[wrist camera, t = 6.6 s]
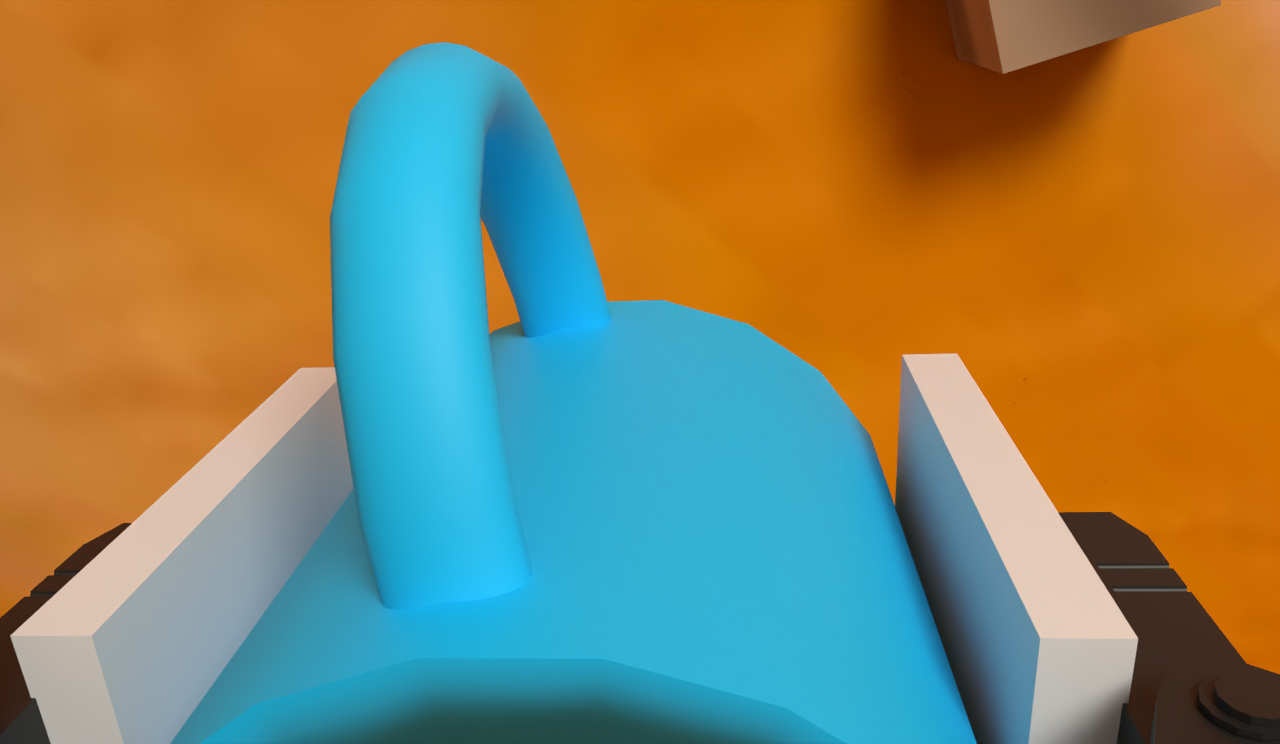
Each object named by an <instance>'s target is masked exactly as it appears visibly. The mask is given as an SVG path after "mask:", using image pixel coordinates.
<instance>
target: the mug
mask: <svg viewBox="0 0 1280 744" xmlns="http://www.w3.org/2000/svg"><path fill="white" fill-rule="evenodd" d="M480 217H481V219H482V221H483V223H484V224H485V226H486V229H487V231H488V234H489V236H490V239H491V242H492V244H493V247H494V249H495V252H496V254H497V257H498V259H499V262H500V265H501V267H502V270H503V272H504V275H505V277H506V280H507V282H508V285H509V288H510V290H511V293H512V295H513V298H514V301H515V304H516V308H517V311H518V314H519V318H520V322H517V323H514V324H512V325H509V326H506V327H503V328H500V329H497V330H494V331H493V332H492V333H491V334H489V325H488V312H487V299H486V285H485V272H484V259H483V246H482V233H481V219H480ZM330 240H331V282H332V324H333V360H334V366H335V372H336V379H337V385H338V392H339V398H340V404H341V411H342V417H343V423H344V430H345V436H346V443H347V449H348V455H349V462H350V468H351V475H352V481H353V487H354V488H353V490H352V491H351V493H350V494H349V495H348V497H347V498H346V500H345V501H344V502H343V504H342V505H341V507H340V508H339V509H338V511H337V512H336V514H335V515H334V516H333V518H332V519H331V520H330V522H329V523H328V525H327V526H326V527H325V529H324V530H323V532H322V533H321V534H320V536H319V537H318V539H317V540H316V541H315V543H314V544H313V546H312V547H311V548H310V550H309V551H308V553H307V554H306V555H305V557H304V558H303V559H302V561H301V562H300V564H299V565H298V566H297V568H296V569H295V571H294V572H293V573H292V575H291V576H290V578H289V579H288V580H287V582H286V583H285V585H284V586H283V587H282V589H281V590H280V591H279V593H278V594H277V596H276V597H275V598H274V600H273V601H272V603H271V604H270V605H269V607H268V608H267V610H266V611H265V612H264V614H263V615H262V617H261V618H260V619H259V621H258V622H257V623H256V625H255V626H254V628H253V629H252V630H251V632H250V633H249V635H248V636H247V637H246V639H245V640H244V642H243V643H242V644H241V646H240V647H239V649H238V650H237V651H236V653H235V654H234V656H233V657H232V658H231V660H230V661H229V662H228V664H227V665H226V667H225V668H224V669H223V671H222V672H221V674H220V675H219V676H218V678H217V679H216V681H215V682H214V683H213V685H212V686H211V688H210V689H209V690H208V692H207V693H206V694H205V696H204V697H203V699H202V700H201V701H200V703H199V704H198V706H197V707H196V708H195V710H194V711H193V713H192V714H191V715H190V717H189V718H188V720H187V721H186V722H185V724H184V725H183V726H182V728H181V729H180V731H179V732H178V733H177V735H176V736H175V738H174V739H173V740H172V742H171V743H170V744H977V742H976V740H975V737H974V734H973V731H972V728H971V725H970V722H969V719H968V717H967V714H966V711H965V708H964V705H963V702H962V699H961V696H960V693H959V691H958V688H957V685H956V682H955V679H954V676H953V673H952V670H951V667H950V665H949V662H948V659H947V656H946V653H945V650H944V647H943V644H942V641H941V639H940V636H939V633H938V630H937V627H936V624H935V621H934V618H933V615H932V613H931V610H930V607H929V604H928V601H927V598H926V595H925V592H924V589H923V587H922V584H921V581H920V578H919V575H918V572H917V569H916V566H915V564H914V561H913V558H912V555H911V552H910V549H909V546H908V543H907V540H906V538H905V535H904V532H903V529H902V526H901V523H900V520H899V517H898V514H897V512H896V509H895V506H894V503H893V500H892V497H891V494H890V491H889V488H888V486H887V483H886V480H885V477H884V474H883V471H882V468H881V465H880V462H879V460H878V457H877V454H876V451H875V448H874V445H873V442H872V439H871V436H870V434H869V433H868V432H867V431H866V429H865V428H864V427H863V426H862V424H861V423H860V422H859V420H858V419H857V418H856V417H855V415H854V414H853V413H852V412H851V410H850V409H849V408H848V406H847V405H846V404H845V403H844V401H843V400H842V399H841V398H840V396H839V395H838V394H837V392H836V391H835V390H834V389H833V387H832V386H831V385H830V383H829V382H828V381H827V380H826V378H825V377H824V376H823V375H822V373H821V372H820V371H819V370H817V369H816V368H814V367H813V366H811V365H809V364H808V363H806V362H805V361H803V360H802V359H800V358H799V357H797V356H796V355H794V354H793V353H791V352H790V351H788V350H787V349H785V348H784V347H782V346H781V345H779V344H778V343H776V342H774V341H773V340H771V339H770V338H768V337H767V336H765V335H764V334H762V333H761V332H759V331H758V330H756V329H755V328H753V327H752V326H750V325H749V324H746V323H742V322H738V321H735V320H731V319H728V318H724V317H721V316H717V315H714V314H710V313H706V312H703V311H699V310H696V309H692V308H689V307H685V306H682V305H678V304H674V303H671V302H667V301H664V300H651V301H614V302H607V300H606V296H605V292H604V288H603V284H602V280H601V276H600V273H599V270H598V266H597V263H596V260H595V257H594V254H593V250H592V247H591V244H590V241H589V237H588V234H587V231H586V228H585V224H584V221H583V218H582V215H581V212H580V208H579V205H578V202H577V199H576V196H575V194H574V191H573V189H572V186H571V184H570V181H569V179H568V176H567V174H566V171H565V169H564V166H563V164H562V161H561V159H560V156H559V154H558V151H557V149H556V146H555V144H554V141H553V139H552V136H551V134H550V131H549V129H548V126H547V124H546V123H545V121H544V119H543V117H542V116H541V114H540V112H539V111H538V109H537V107H536V106H535V104H534V102H533V101H532V99H531V97H530V96H529V94H528V92H527V91H526V89H525V87H524V86H523V84H522V82H521V81H520V79H519V78H518V77H517V76H516V75H515V74H514V73H513V72H512V71H511V70H510V69H509V68H507V67H505V66H503V65H501V64H500V63H498V62H496V61H494V60H492V59H490V58H488V57H486V56H484V55H483V54H481V53H479V52H477V51H475V50H472V49H470V48H468V47H466V46H463V45H458V44H452V43H446V42H445V43H433V44H425V45H422V46H420V47H417V48H414V49H411V50H409V51H407V52H405V53H404V54H403V55H401V56H400V57H399V58H397V59H396V60H394V61H393V62H392V63H391V64H390V65H389V66H388V68H387V69H386V70H385V71H384V72H383V73H382V74H381V76H380V77H379V78H378V79H377V80H376V81H375V82H374V83H373V85H372V86H371V87H370V88H369V89H368V90H367V91H366V93H365V94H364V95H363V96H362V97H361V98H360V100H359V101H358V103H357V104H356V105H355V107H354V108H353V110H352V111H351V114H350V118H349V122H348V126H347V131H346V136H345V141H344V147H343V152H342V157H341V163H340V168H339V173H338V179H337V184H336V189H335V194H334V200H333V205H332V210H331V216H330Z"/></svg>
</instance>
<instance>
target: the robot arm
mask: <svg viewBox="0 0 1280 744" xmlns="http://www.w3.org/2000/svg"><path fill="white" fill-rule="evenodd" d="M353 488H354V487H353V481H352V475H351V468H350V462H349V455H348V449H347V443H346V436H345V430H344V423H343V417H342V411H341V404H340V398H339V392H338V385H337V379H336V372H335V367H325V368H300V369H299V370H298V371H297V372H296V373H295V374H294V375H293V376H292V377H290V378H289V379H288V380H287V381H286V382H285V383H284V384H283V385H282V386H281V387H280V388H279V389H277V390H276V391H275V392H274V393H273V394H272V395H271V396H270V397H269V398H268V399H267V400H265V401H264V402H263V403H262V404H261V405H260V406H259V407H258V408H257V409H256V410H255V411H254V412H252V413H251V414H250V415H249V416H248V417H247V418H246V419H245V420H244V421H243V422H242V423H241V424H239V425H238V426H237V427H236V428H235V429H234V430H233V431H232V432H231V433H230V434H229V435H228V436H226V437H225V438H224V439H223V440H222V441H221V442H220V443H219V444H218V445H217V446H216V447H214V448H213V449H212V450H211V451H210V452H209V453H208V454H207V455H206V456H205V457H204V458H203V459H201V460H200V461H199V462H198V463H197V464H196V465H195V466H194V467H193V468H192V469H191V470H190V471H188V472H187V473H186V474H185V475H184V476H183V477H182V478H181V479H180V480H179V481H178V482H177V483H175V484H174V485H173V486H172V487H171V488H170V489H169V490H168V491H167V492H166V493H165V494H163V495H162V496H161V497H160V498H159V499H158V500H157V501H156V502H155V503H154V504H153V505H152V506H150V507H149V508H148V509H147V510H146V511H145V512H144V513H143V514H142V515H141V516H140V517H139V518H137V519H136V520H135V521H134V522H133V523H123V524H121V525H119V526H117V527H116V528H114V529H112V530H110V531H108V532H106V533H104V534H103V535H101V536H99V537H97V538H95V539H93V540H92V541H90V542H88V543H86V544H84V545H83V546H81V547H80V548H79V549H78V550H77V551H76V552H75V553H73V554H72V555H71V556H70V557H69V558H68V559H67V560H66V561H64V562H63V563H62V564H61V565H60V566H59V567H58V568H57V569H55V570H54V576H47V577H46V578H45V579H44V580H43V581H42V582H41V583H40V584H38V585H37V586H36V587H35V588H34V589H33V590H32V591H31V595H30V597H24V598H23V599H21V600H20V601H19V602H18V603H17V604H16V605H15V606H14V607H12V608H11V609H10V610H9V611H8V612H7V613H6V614H5V615H3V616H2V617H1V618H0V744H170V743H171V742H172V740H173V739H174V738H175V736H176V735H177V733H178V732H179V731H180V729H181V728H182V726H183V725H184V724H185V722H186V721H187V720H188V718H189V717H190V715H191V714H192V713H193V711H194V710H195V708H196V707H197V706H198V704H199V703H200V701H201V700H202V699H203V697H204V696H205V694H206V693H207V692H208V690H209V689H210V688H211V686H212V685H213V683H214V682H215V681H216V679H217V678H218V676H219V675H220V674H221V672H222V671H223V669H224V668H225V667H226V665H227V664H228V662H229V661H230V660H231V658H232V657H233V656H234V654H235V653H236V651H237V650H238V649H239V647H240V646H241V644H242V643H243V642H244V640H245V639H246V637H247V636H248V635H249V633H250V632H251V630H252V629H253V628H254V626H255V625H256V623H257V622H258V621H259V619H260V618H261V617H262V615H263V614H264V612H265V611H266V610H267V608H268V607H269V605H270V604H271V603H272V601H273V600H274V598H275V597H276V596H277V594H278V593H279V591H280V590H281V589H282V587H283V586H284V585H285V583H286V582H287V580H288V579H289V578H290V576H291V575H292V573H293V572H294V571H295V569H296V568H297V566H298V565H299V564H300V562H301V561H302V559H303V558H304V557H305V555H306V554H307V553H308V551H309V550H310V548H311V547H312V546H313V544H314V543H315V541H316V540H317V539H318V537H319V536H320V534H321V533H322V532H323V530H324V529H325V527H326V526H327V525H328V523H329V522H330V520H331V519H332V518H333V516H334V515H335V514H336V512H337V511H338V509H339V508H340V507H341V505H342V504H343V502H344V501H345V500H346V498H347V497H348V495H349V494H350V493H351V491H352V490H353ZM895 509H896V512H897V514H898V517H899V520H900V523H901V526H902V529H903V532H904V535H905V538H906V540H907V543H908V546H909V549H910V552H911V555H912V558H913V561H914V564H915V566H916V569H917V572H918V575H919V578H920V581H921V584H922V587H923V589H924V592H925V595H926V598H927V601H928V604H929V607H930V610H931V613H932V615H933V618H934V621H935V624H936V627H937V630H938V633H939V636H940V639H941V641H942V644H943V647H944V650H945V653H946V656H947V659H948V662H949V665H950V667H951V670H952V673H953V676H954V679H955V682H956V685H957V688H958V691H959V693H960V696H961V699H962V702H963V705H964V708H965V711H966V714H967V717H968V719H969V722H970V725H971V728H972V731H973V734H974V737H975V740H976V742H977V744H1280V674H1276V673H1273V672H1270V671H1267V670H1264V669H1261V668H1258V667H1255V666H1252V665H1249V664H1246V662H1245V661H1244V660H1243V659H1242V657H1241V656H1240V655H1239V653H1238V652H1237V651H1236V649H1235V648H1234V647H1233V646H1232V644H1231V643H1230V642H1229V640H1228V639H1227V638H1226V636H1225V635H1224V634H1223V633H1222V631H1221V630H1220V629H1219V627H1218V626H1217V625H1216V624H1215V622H1214V621H1213V620H1212V618H1211V617H1210V616H1209V614H1208V613H1207V612H1206V611H1205V609H1204V608H1203V607H1202V605H1201V604H1200V603H1199V601H1198V600H1197V599H1196V598H1195V596H1194V595H1193V594H1192V592H1187V586H1186V585H1185V583H1184V582H1183V581H1182V579H1181V578H1180V577H1179V576H1178V574H1177V573H1176V572H1175V570H1174V569H1169V563H1168V561H1167V560H1166V559H1165V557H1164V556H1163V555H1162V554H1161V552H1160V551H1159V550H1158V548H1157V547H1156V546H1155V544H1154V543H1153V542H1152V541H1151V539H1150V538H1149V537H1148V535H1146V534H1144V533H1143V532H1141V531H1140V530H1138V529H1136V528H1135V527H1133V526H1132V525H1130V524H1128V523H1127V522H1125V521H1124V520H1122V519H1121V518H1119V517H1117V516H1116V515H1114V514H1113V513H1111V512H1065V513H1058V512H1057V510H1056V509H1055V507H1054V505H1053V504H1052V502H1051V501H1050V499H1049V498H1048V496H1047V494H1046V493H1045V491H1044V490H1043V488H1042V487H1041V485H1040V483H1039V482H1038V480H1037V479H1036V477H1035V476H1034V474H1033V472H1032V471H1031V469H1030V468H1029V466H1028V465H1027V463H1026V461H1025V460H1024V458H1023V457H1022V455H1021V453H1020V452H1019V450H1018V449H1017V447H1016V446H1015V444H1014V442H1013V441H1012V439H1011V438H1010V436H1009V435H1008V433H1007V431H1006V430H1005V428H1004V427H1003V425H1002V424H1001V422H1000V420H999V419H998V417H997V416H996V414H995V413H994V411H993V409H992V408H991V406H990V405H989V403H988V402H987V400H986V398H985V397H984V395H983V394H982V392H981V391H980V389H979V387H978V386H977V384H976V383H975V381H974V380H973V378H972V376H971V375H970V373H969V372H968V370H967V369H966V367H965V365H964V364H963V362H962V361H961V359H960V358H959V356H958V354H913V355H902V370H901V391H900V413H899V434H898V456H897V477H896V499H895Z"/></svg>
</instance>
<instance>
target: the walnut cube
mask: <svg viewBox="0 0 1280 744" xmlns="http://www.w3.org/2000/svg"><path fill="white" fill-rule="evenodd" d="M945 1H946V5H947V10H948V15H949V20H950V24H951V29H952V34H953V39H954V43H955V48H956V53H957V58H958V60H961V61H964V62H967V63H970V64H973V65H977V66H980V67H983V68H986V69H989V70H992V71H996V72H999V73H1002V74H1004V73H1008V72H1011V71H1014V70H1017V69H1020V68H1023V67H1027V66H1030V65H1033V64H1036V63H1039V62H1042V61H1046V60H1049V59H1052V58H1055V57H1058V56H1061V55H1064V54H1068V53H1071V52H1074V51H1077V50H1080V49H1083V48H1087V47H1090V46H1093V45H1096V44H1099V43H1102V42H1106V41H1109V40H1112V39H1115V38H1118V37H1121V36H1124V35H1128V34H1131V33H1134V32H1137V31H1140V30H1143V29H1147V28H1150V27H1153V26H1156V25H1159V24H1162V23H1166V22H1169V21H1172V20H1175V19H1178V18H1181V17H1185V16H1188V15H1191V14H1194V13H1197V12H1200V11H1203V10H1207V9H1210V8H1213V7H1216V6H1219V5H1221V2H1220V0H945Z"/></svg>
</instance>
